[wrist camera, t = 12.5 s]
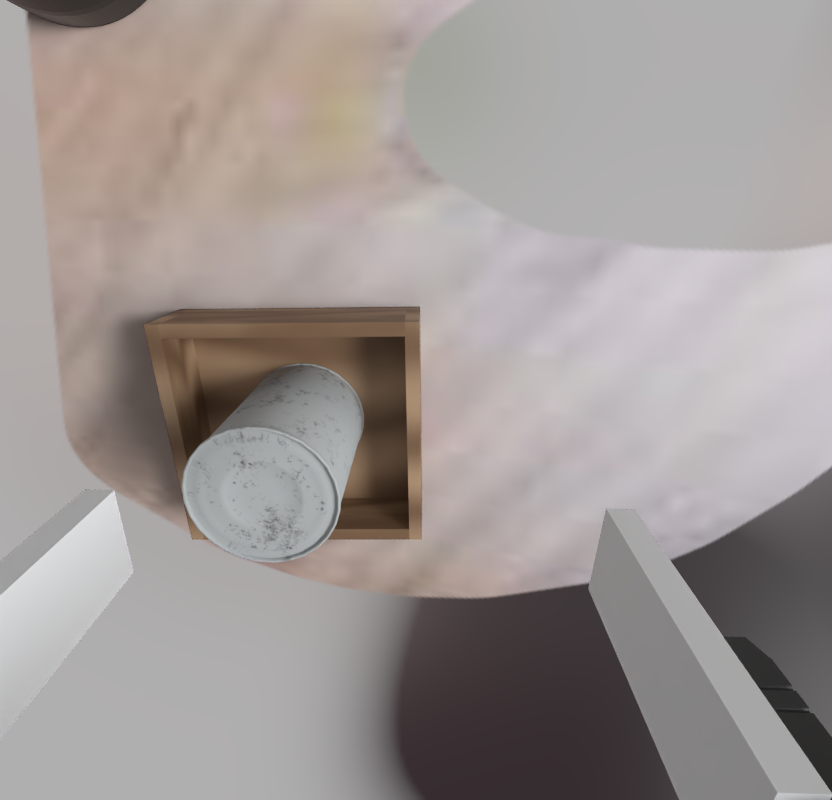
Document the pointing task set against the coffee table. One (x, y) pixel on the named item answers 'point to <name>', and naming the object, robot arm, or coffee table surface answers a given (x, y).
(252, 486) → the speckled white tin can
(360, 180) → the coffee table surface
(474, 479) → the coffee table surface
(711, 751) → the robot arm
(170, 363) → the walnut box
